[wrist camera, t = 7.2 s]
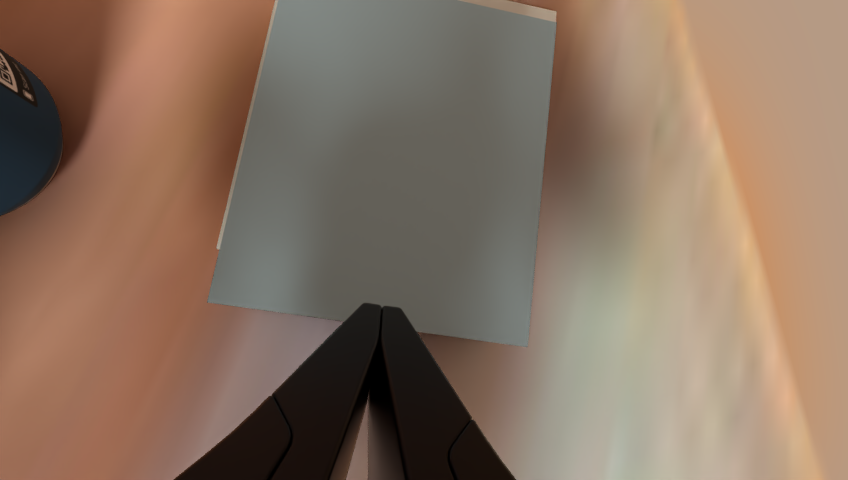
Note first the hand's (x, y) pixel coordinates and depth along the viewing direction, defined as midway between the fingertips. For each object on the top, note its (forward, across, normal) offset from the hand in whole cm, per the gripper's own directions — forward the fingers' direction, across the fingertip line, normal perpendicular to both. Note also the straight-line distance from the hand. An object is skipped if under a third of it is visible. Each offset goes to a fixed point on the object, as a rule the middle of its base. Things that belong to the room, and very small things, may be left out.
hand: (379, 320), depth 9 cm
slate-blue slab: (+4, 0, -5) cm, 6 cm away
